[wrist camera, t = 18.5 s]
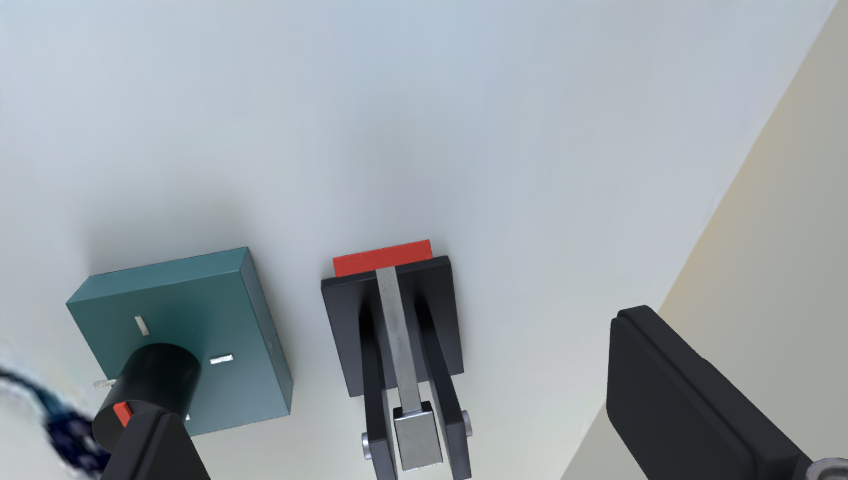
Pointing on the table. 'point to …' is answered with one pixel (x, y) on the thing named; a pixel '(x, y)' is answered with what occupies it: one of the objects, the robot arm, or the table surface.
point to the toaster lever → (400, 351)
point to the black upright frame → (372, 360)
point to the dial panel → (193, 332)
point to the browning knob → (148, 389)
